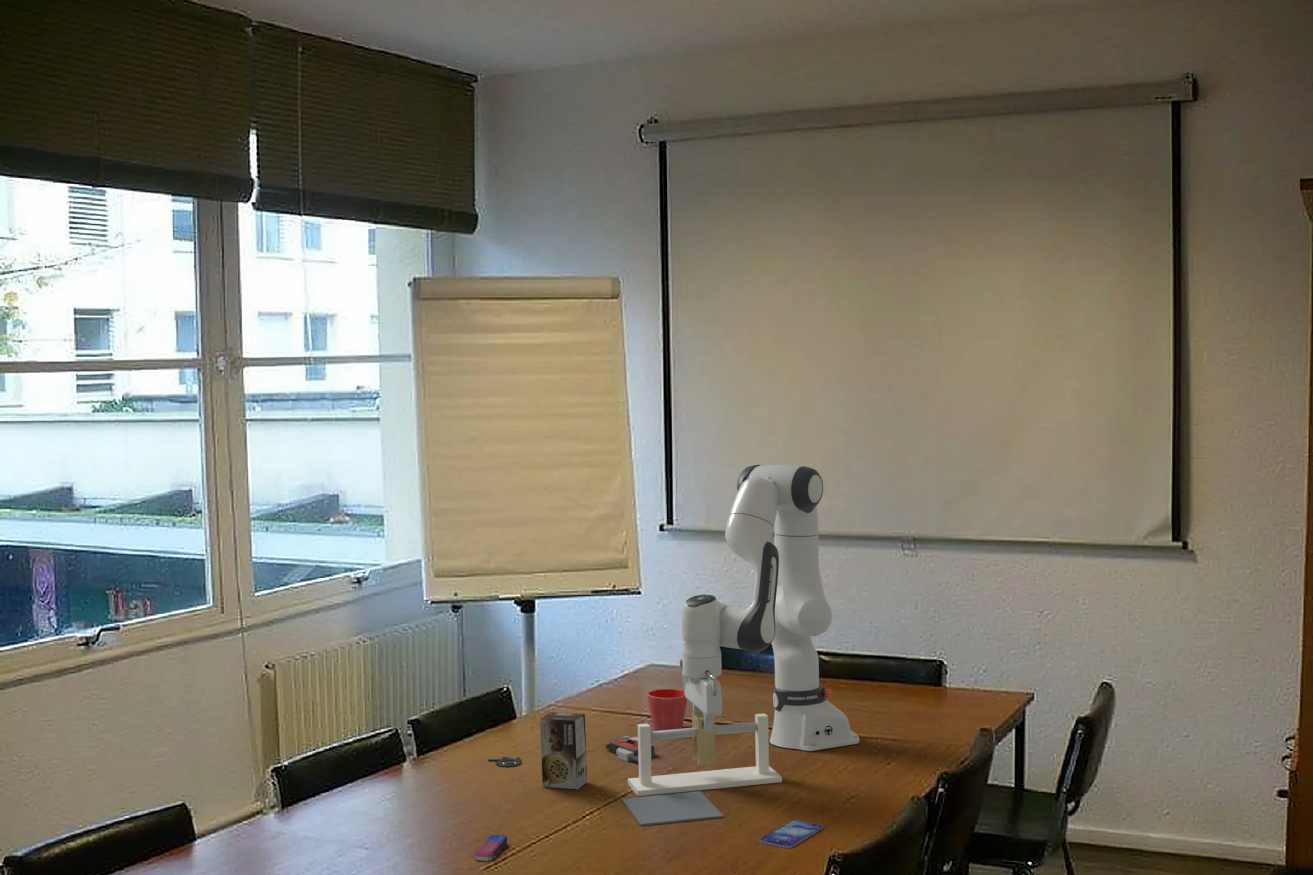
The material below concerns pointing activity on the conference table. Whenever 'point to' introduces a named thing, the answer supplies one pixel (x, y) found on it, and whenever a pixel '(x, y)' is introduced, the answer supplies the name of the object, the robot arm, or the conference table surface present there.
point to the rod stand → (703, 779)
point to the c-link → (703, 741)
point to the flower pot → (667, 708)
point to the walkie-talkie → (626, 748)
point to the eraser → (491, 847)
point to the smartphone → (790, 834)
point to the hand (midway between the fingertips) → (703, 726)
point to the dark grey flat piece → (507, 762)
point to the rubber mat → (671, 808)
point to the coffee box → (563, 750)
